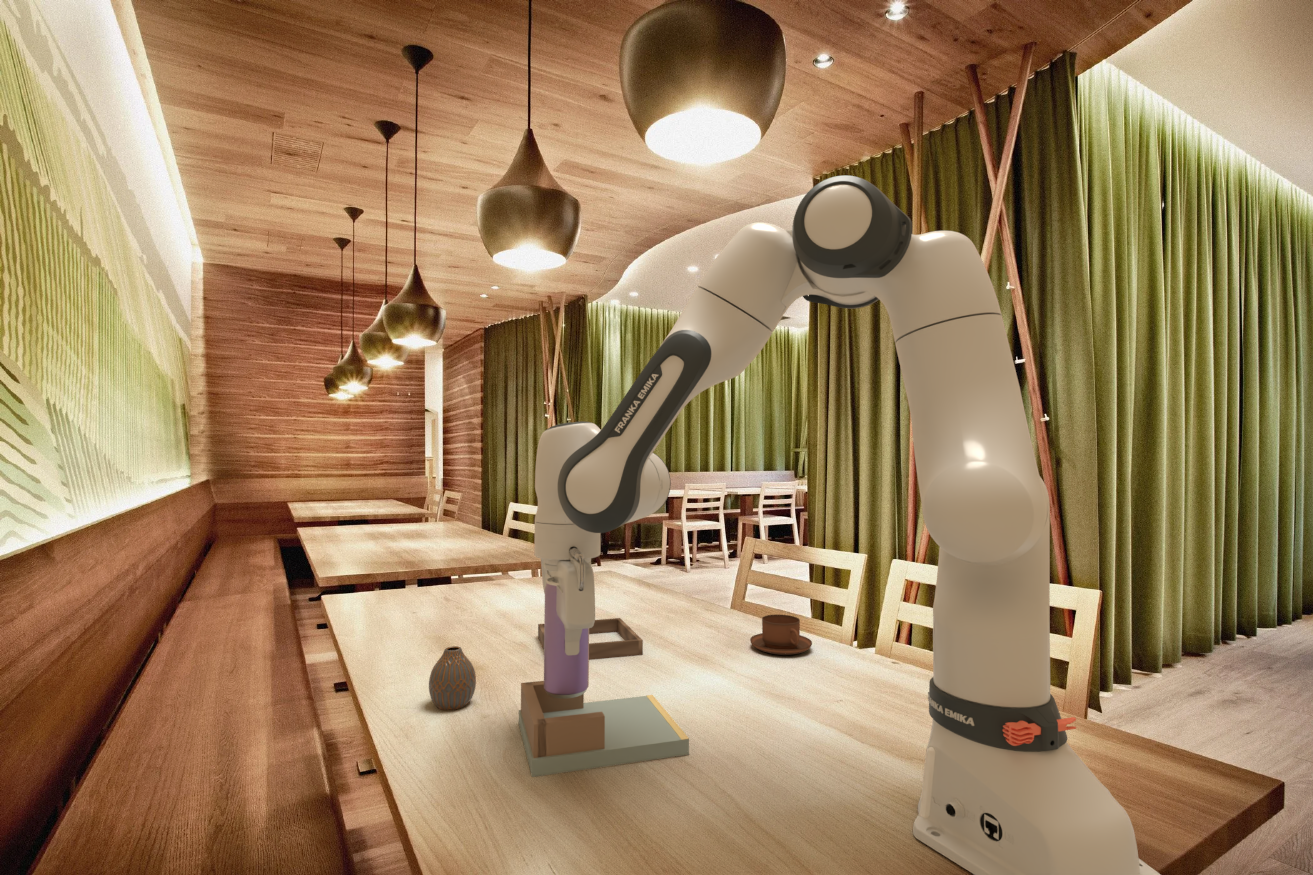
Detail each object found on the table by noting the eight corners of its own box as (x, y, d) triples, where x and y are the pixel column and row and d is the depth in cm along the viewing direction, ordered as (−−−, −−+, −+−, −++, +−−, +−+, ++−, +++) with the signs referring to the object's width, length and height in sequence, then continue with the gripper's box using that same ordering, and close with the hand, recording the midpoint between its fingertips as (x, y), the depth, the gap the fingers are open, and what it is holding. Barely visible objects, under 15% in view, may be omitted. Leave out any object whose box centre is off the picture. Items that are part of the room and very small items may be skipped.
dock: (688, 754, 85) (689, 707, 85) (531, 776, 79) (532, 726, 79) (652, 708, 100) (652, 668, 100) (518, 724, 94) (518, 681, 94)
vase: (424, 716, 97) (425, 656, 97) (432, 698, 104) (433, 642, 104) (472, 713, 98) (473, 654, 98) (478, 696, 105) (478, 640, 105)
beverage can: (580, 701, 85) (581, 584, 85) (536, 697, 86) (538, 582, 86) (594, 685, 91) (595, 576, 91) (553, 681, 92) (554, 574, 92)
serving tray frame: (642, 655, 126) (642, 640, 126) (550, 664, 120) (550, 647, 120) (619, 631, 142) (620, 617, 143) (538, 638, 137) (538, 623, 137)
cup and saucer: (824, 651, 130) (824, 619, 130) (786, 664, 122) (786, 630, 122) (776, 638, 139) (775, 608, 139) (737, 649, 131) (737, 618, 131)
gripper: (608, 553, 80) (607, 668, 79) (577, 532, 99) (576, 625, 99) (556, 555, 78) (555, 673, 77) (534, 534, 97) (534, 628, 97)
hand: (566, 645), depth 88 cm, fingers closed on beverage can, 5 cm apart
